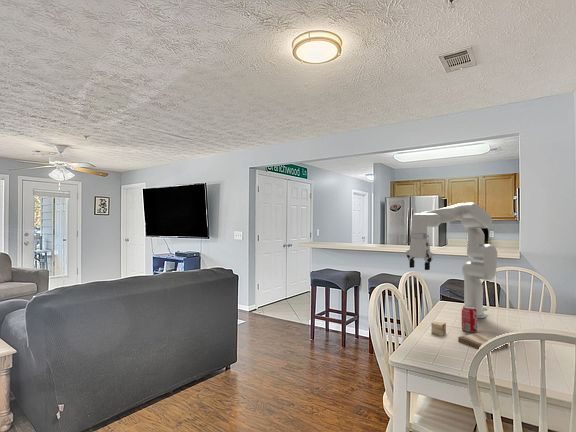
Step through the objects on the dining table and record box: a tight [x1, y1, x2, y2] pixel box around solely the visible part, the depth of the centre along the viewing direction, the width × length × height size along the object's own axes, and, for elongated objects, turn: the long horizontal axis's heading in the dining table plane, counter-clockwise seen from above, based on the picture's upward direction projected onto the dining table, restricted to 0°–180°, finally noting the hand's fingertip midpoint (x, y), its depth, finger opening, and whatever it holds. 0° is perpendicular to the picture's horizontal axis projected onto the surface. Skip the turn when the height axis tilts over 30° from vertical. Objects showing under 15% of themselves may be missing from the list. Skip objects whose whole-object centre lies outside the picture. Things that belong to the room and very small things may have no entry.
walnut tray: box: [457, 332, 509, 351], centre depth 153 cm, size 14×14×2 cm
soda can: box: [461, 305, 478, 333], centre depth 171 cm, size 7×7×12 cm
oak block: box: [431, 320, 447, 336], centre depth 168 cm, size 5×5×5 cm
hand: (419, 268), depth 180 cm, fingers open, 9 cm apart
